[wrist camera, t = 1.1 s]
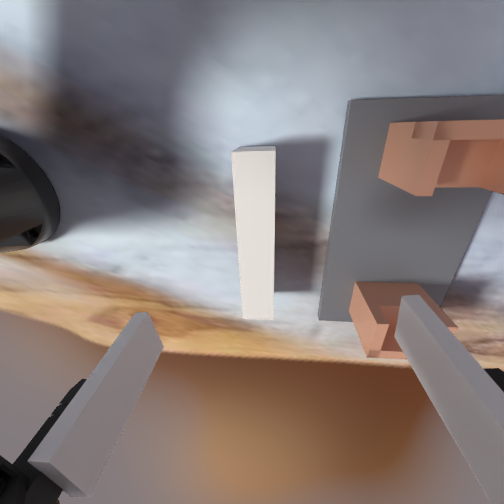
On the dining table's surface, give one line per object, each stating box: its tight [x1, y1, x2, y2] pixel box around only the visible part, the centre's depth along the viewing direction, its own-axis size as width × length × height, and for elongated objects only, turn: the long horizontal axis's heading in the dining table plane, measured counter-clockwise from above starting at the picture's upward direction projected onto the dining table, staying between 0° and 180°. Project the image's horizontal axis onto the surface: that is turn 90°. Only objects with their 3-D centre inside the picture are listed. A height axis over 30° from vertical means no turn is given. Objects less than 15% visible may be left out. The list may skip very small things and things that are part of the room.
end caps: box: [318, 95, 504, 359], centre depth 26 cm, size 16×28×9 cm, turn 1°
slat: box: [231, 146, 276, 320], centre depth 29 cm, size 4×20×6 cm, turn 2°
